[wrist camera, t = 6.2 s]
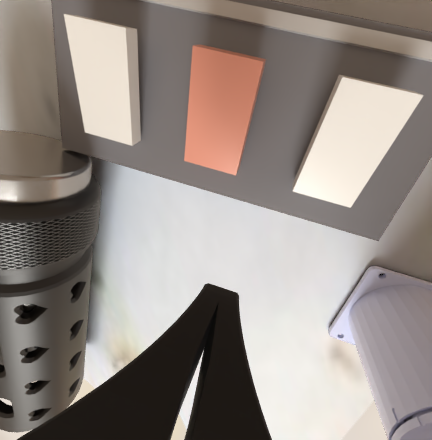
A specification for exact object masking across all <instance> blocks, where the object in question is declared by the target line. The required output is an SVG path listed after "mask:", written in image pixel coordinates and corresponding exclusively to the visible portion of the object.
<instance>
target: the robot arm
mask: <svg viewBox="0 0 432 440" xmlns="http://www.w3.org/2000/svg"><path fill="white" fill-rule="evenodd" d="M381 273H384V275H382V276H379V274H381ZM328 332H329V335H330V336H331V337H333V338H336V339H339V340H342V341H344V342H347V343H350V344H353V345H356V348H357V351H358V354H359V357H360V360H361V363H362V365H363V368H364V371H365V374H366V377H367V380H368V383H369V386H370V389H371V392H372V395H373V398H374V401H375V404H376V406H377V409H378V412H379V415H380V418H381V421H382V424H383V427H384V430H385V433H386V436H387V438H388V440H432V283H431V282H427V281H424V280H421V279H418V278H414V277H411V276H408V275H404V274H401V273H398V272H395V271H391V270H388V269H385V268H382V267H378V266H371V267H369V268H368V269H367V271H366V272H365V274H364V275H363V277H362V278H361V280H360V281H359V283H358V285H357V286H356V288H355V289H354V291H353V292H352V294H351V295H350V297H349V298H348V300H347V302H346V303H345V305H344V306H343V308H342V309H341V311H340V312H339V314H338V315H337V317H336V318H335V320H334V322H333V323H332V325H331V326H330V328H329V329H328ZM339 334H341V335H339ZM203 350H204V352H203ZM202 352H203V357H202V362H201V367H200V372H199V377H198V382H197V387H196V392H195V397H194V402H193V407H192V412H191V416H190V420H189V425H188V428H187V432H186V436H185V439H184V440H272V439H271V436H270V433H269V431H268V428H267V425H266V422H265V419H264V416H263V413H262V410H261V407H260V403H259V400H258V397H257V393H256V390H255V387H254V383H253V379H252V376H251V372H250V368H249V363H248V359H247V355H246V350H245V345H244V340H243V334H242V328H241V321H240V312H239V295H238V294H237V293H236V292H233V291H230V290H227V289H224V288H221V287H218V286H215V285H212V284H209V283H208V284H205V285H204V287H203V289H202V290H201V292H200V293H199V295H198V296H197V297H196V299H195V300H194V301H193V302H192V304H191V305H190V306H189V307H188V308H187V310H186V311H185V312H184V313H183V314H182V315H181V316H180V317H179V318H178V320H177V321H176V322H175V323H174V324H173V325H172V326H171V327H170V328H169V329H168V330H167V331H166V332H164V333H163V334H162V335H161V336H160V337H159V338H158V339H157V340H156V341H155V342H154V343H153V344H152V345H151V346H149V347H148V348H147V349H146V350H145V351H144V352H142V353H141V354H140V355H139V356H138V357H137V358H135V359H134V360H133V361H132V362H130V363H129V364H128V365H127V366H125V367H124V368H123V369H121V370H120V371H119V372H118V373H116V374H115V375H114V376H112V377H111V378H110V379H108V380H107V381H106V382H104V383H103V384H102V385H100V386H99V387H97V388H96V389H94V390H93V391H91V392H90V393H88V394H87V395H86V396H84V397H83V398H81V399H80V400H78V401H77V402H75V403H74V404H73V405H71V406H70V407H68V408H67V409H65V410H64V411H62V412H60V413H59V414H57V415H56V416H54V417H53V418H51V419H49V420H48V421H46V422H44V423H43V424H41V425H40V426H38V427H36V428H35V429H33V430H32V431H30V432H28V433H27V434H25V435H23V436H22V437H20V438H19V439H17V440H170V439H171V436H172V433H173V430H174V426H175V423H176V420H177V417H178V414H179V412H180V409H181V406H182V403H183V401H184V398H185V396H186V393H187V391H188V388H189V386H190V383H191V380H192V378H193V375H194V373H195V370H196V368H197V365H198V363H199V360H200V358H201V355H202Z"/></svg>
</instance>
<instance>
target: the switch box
mask: <svg viewBox="0 0 432 440" xmlns="http://www.w3.org/2000/svg"><path fill="white" fill-rule="evenodd" d="M52 14H53V27H54V41H55V54H56V68H57V82H58V95H59V109H60V122H61V136H62V148H65V149H68V150H72V151H75V152H78V153H82V154H85V155H89V156H92V157H95V158H99V159H102V160H105V161H109V162H112V163H116V164H119V165H122V166H126V167H129V168H133V169H136V170H139V171H143V172H146V173H149V174H153V175H156V176H160V177H163V178H166V179H170V180H173V181H177V182H180V183H183V184H187V185H190V186H193V187H197V188H200V189H204V190H207V191H210V192H214V193H217V194H221V195H224V196H227V197H231V198H234V199H237V200H241V201H244V202H248V203H251V204H254V205H258V206H261V207H265V208H268V209H271V210H275V211H278V212H281V213H285V214H288V215H292V216H295V217H298V218H302V219H305V220H309V221H312V222H315V223H319V224H322V225H325V226H329V227H332V228H336V229H339V230H342V231H346V232H349V233H353V234H356V235H359V236H363V237H366V238H369V239H373V240H376V241H379V239H380V238H381V236H382V234H383V233H384V231H385V230H386V228H387V226H388V225H389V223H390V222H391V220H392V219H393V217H394V215H395V214H396V212H397V211H398V209H399V207H400V206H401V204H402V203H403V201H404V200H405V198H406V196H407V195H408V193H409V192H410V190H411V188H412V187H413V185H414V184H415V182H416V181H417V179H418V177H419V176H420V174H421V173H422V171H423V169H424V168H425V166H426V165H427V163H428V162H429V160H430V158H431V157H432V32H428V31H423V30H418V29H413V28H408V27H403V26H398V25H393V24H388V23H382V22H377V21H372V20H367V19H362V18H357V17H352V16H347V15H342V14H337V13H332V12H327V11H322V10H317V9H312V8H307V7H302V6H297V5H292V4H287V3H282V2H277V1H272V0H52ZM64 14H69V15H77V16H82V17H86V18H91V19H95V20H100V21H104V22H109V23H113V24H117V25H122V26H126V27H131V28H135V29H137V41H138V71H139V102H140V132H141V141H139V142H138V143H136V144H134V145H133V146H131V145H128V144H124V143H121V142H117V141H114V140H110V139H107V138H103V137H99V136H96V135H92V134H89V133H85V130H84V124H83V118H82V113H81V107H80V102H79V96H78V91H77V85H76V80H75V74H74V68H73V63H72V57H71V52H70V46H69V41H68V35H67V29H66V24H65V18H64ZM199 44H201V45H205V46H209V47H214V48H218V49H223V50H227V51H232V52H236V53H240V54H245V55H249V56H254V57H258V58H263V59H266V62H265V66H264V70H263V74H262V78H261V82H260V86H259V91H258V95H257V99H256V103H255V107H254V111H253V115H252V119H251V123H250V127H249V131H248V135H247V139H246V143H245V147H244V151H243V155H242V159H241V163H240V167H239V170H238V172H237V174H236V175H232V174H229V173H225V172H222V171H218V170H215V169H211V168H208V167H204V166H201V165H197V164H194V163H190V162H187V161H184V157H185V143H186V130H187V116H188V102H189V89H190V75H191V62H192V48H193V45H199ZM339 75H343V76H348V77H352V78H357V79H361V80H366V81H370V82H374V83H379V84H383V85H388V86H392V87H397V88H401V89H406V90H410V91H414V92H417V93H419V94H422V95H424V96H423V97H422V99H421V100H420V102H419V103H418V105H417V107H416V108H415V110H414V111H413V113H412V114H411V116H410V117H409V119H408V120H407V122H406V123H405V125H404V127H403V128H402V130H401V131H400V133H399V134H398V136H397V137H396V139H395V140H394V142H393V143H392V145H391V146H390V148H389V150H388V151H387V153H386V154H385V156H384V157H383V159H382V160H381V162H380V163H379V165H378V166H377V168H376V170H375V171H374V173H373V174H372V176H371V177H370V179H369V180H368V182H367V183H366V185H365V186H364V188H363V189H362V191H361V193H360V194H359V196H358V197H357V199H356V200H355V202H354V203H353V205H352V206H351V208H349V207H346V206H342V205H339V204H335V203H332V202H328V201H325V200H321V199H318V198H314V197H311V196H307V195H304V194H300V193H297V192H293V182H294V179H295V177H296V175H297V172H298V170H299V168H300V165H301V163H302V160H303V158H304V156H305V153H306V151H307V149H308V146H309V144H310V142H311V139H312V137H313V135H314V132H315V130H316V128H317V125H318V123H319V121H320V118H321V116H322V114H323V111H324V109H325V106H326V104H327V102H328V99H329V97H330V95H331V92H332V90H333V88H334V85H335V83H336V81H337V78H338V76H339Z"/></svg>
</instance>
